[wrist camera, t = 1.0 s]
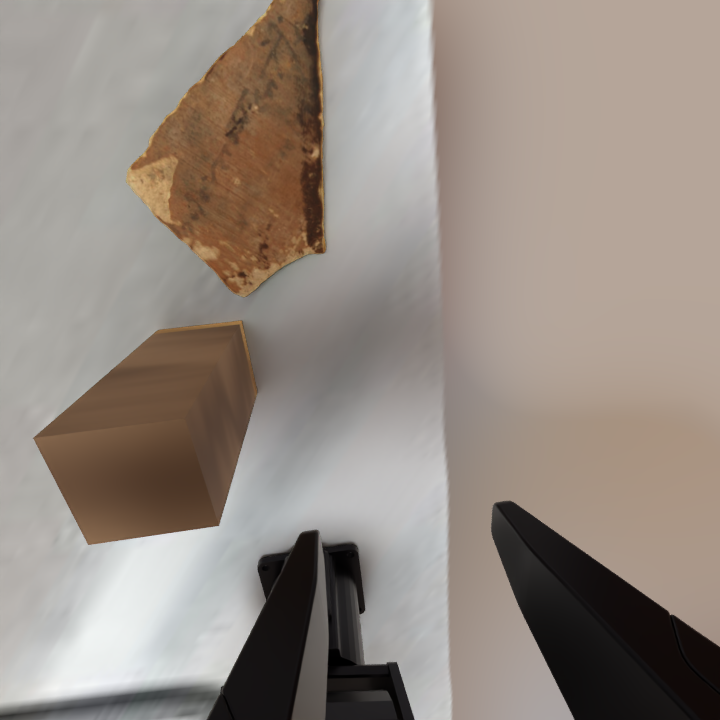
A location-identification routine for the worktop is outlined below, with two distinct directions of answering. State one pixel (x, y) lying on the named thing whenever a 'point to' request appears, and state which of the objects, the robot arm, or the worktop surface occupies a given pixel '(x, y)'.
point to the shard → (246, 153)
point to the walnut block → (156, 436)
